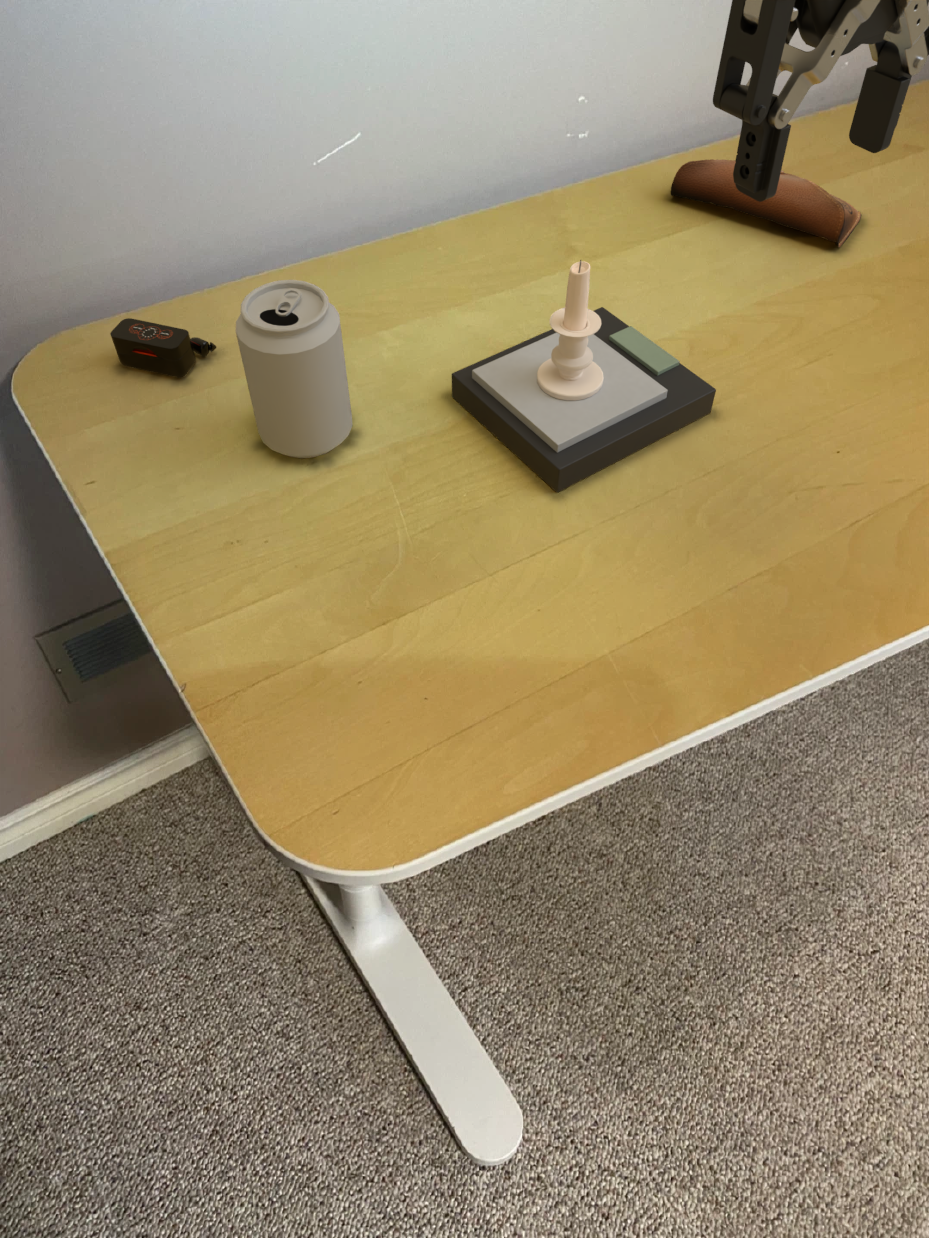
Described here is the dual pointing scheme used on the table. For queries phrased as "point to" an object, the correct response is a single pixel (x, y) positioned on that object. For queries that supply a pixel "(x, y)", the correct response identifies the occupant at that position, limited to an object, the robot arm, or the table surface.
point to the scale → (583, 402)
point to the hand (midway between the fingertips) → (812, 169)
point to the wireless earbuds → (157, 347)
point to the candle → (573, 343)
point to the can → (295, 368)
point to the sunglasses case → (770, 199)
